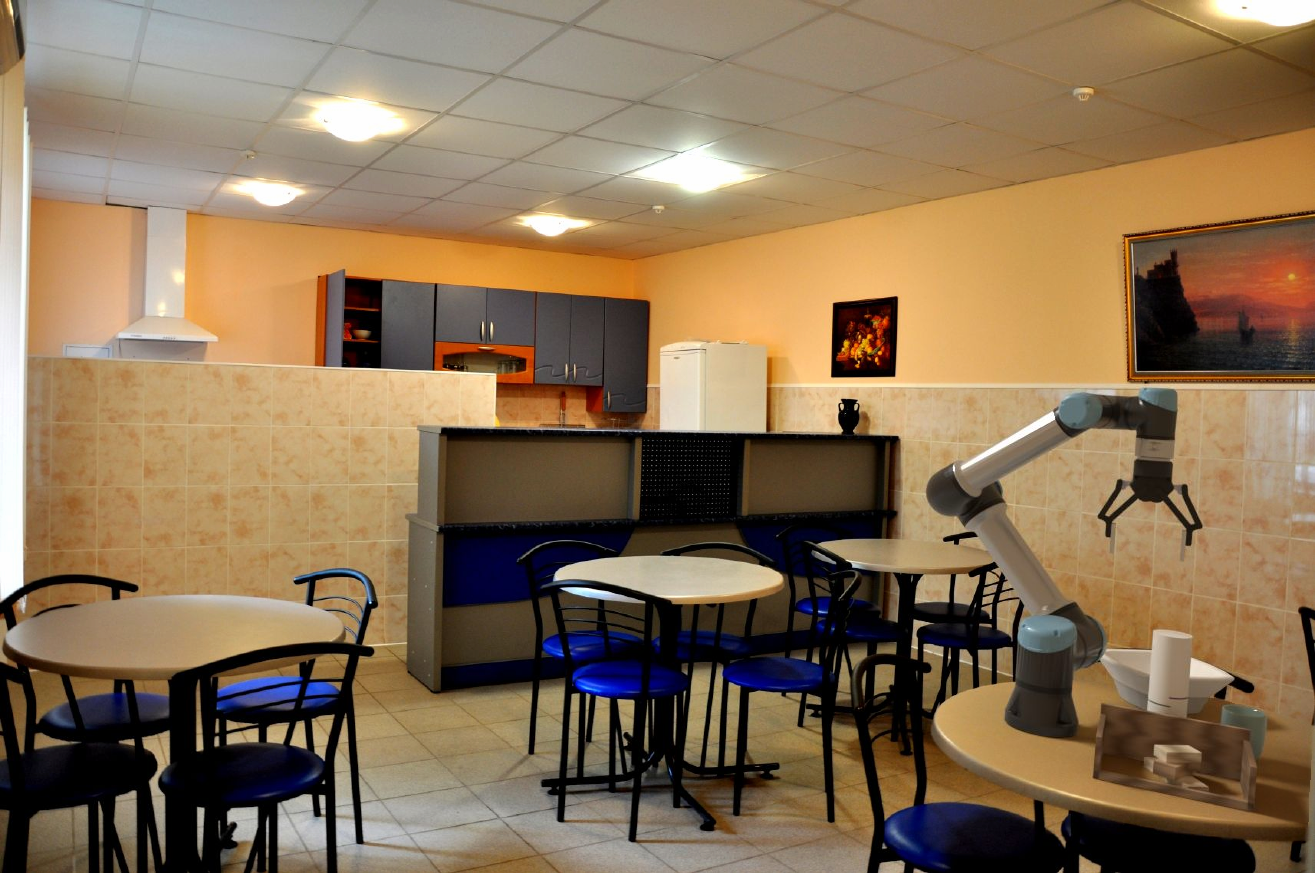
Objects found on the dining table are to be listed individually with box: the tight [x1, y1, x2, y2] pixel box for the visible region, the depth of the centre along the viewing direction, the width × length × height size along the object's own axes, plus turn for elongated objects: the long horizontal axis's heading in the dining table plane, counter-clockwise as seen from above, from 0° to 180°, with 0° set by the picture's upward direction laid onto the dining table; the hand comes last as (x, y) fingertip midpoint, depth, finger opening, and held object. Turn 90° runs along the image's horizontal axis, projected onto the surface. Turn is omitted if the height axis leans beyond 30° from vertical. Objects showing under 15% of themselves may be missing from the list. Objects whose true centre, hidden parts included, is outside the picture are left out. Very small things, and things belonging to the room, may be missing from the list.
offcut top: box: [1154, 745, 1202, 763], centre depth 181 cm, size 7×4×2 cm, turn 96°
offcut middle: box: [1152, 759, 1201, 781], centre depth 181 cm, size 11×4×2 cm, turn 128°
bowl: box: [1099, 648, 1235, 715], centre depth 230 cm, size 24×25×10 cm
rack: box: [1092, 702, 1258, 813], centre depth 182 cm, size 26×17×10 cm, turn 62°
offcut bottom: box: [1143, 757, 1210, 793], centre depth 181 cm, size 14×4×2 cm, turn 4°
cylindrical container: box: [1147, 628, 1194, 718], centre depth 195 cm, size 7×7×25 cm
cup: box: [1220, 704, 1268, 762], centre depth 195 cm, size 8×8×10 cm
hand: (1146, 556), depth 206 cm, fingers open, 13 cm apart
